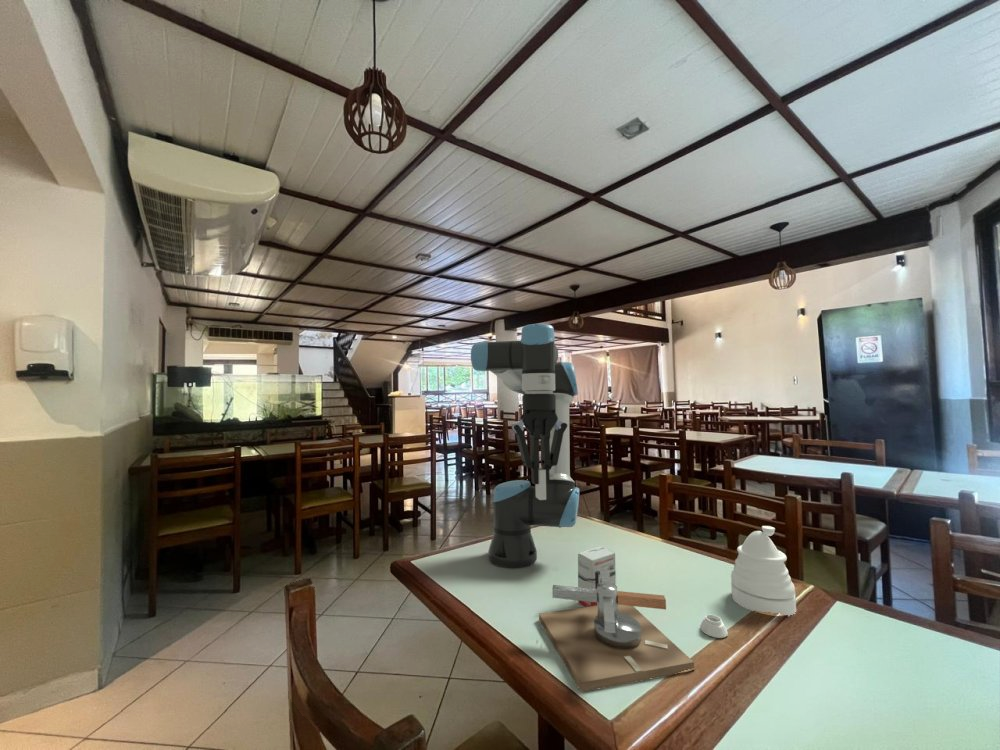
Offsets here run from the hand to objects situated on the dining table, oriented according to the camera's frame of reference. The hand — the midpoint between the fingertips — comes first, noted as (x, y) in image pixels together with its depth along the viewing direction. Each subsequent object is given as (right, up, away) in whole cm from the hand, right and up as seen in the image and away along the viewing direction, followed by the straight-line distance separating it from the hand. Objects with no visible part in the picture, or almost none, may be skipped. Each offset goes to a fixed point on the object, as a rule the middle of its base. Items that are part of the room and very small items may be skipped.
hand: (540, 498), depth 87 cm
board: (+13, -27, -9) cm, 31 cm away
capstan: (+13, -25, -8) cm, 29 cm away
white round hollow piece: (+36, -27, -5) cm, 45 cm away
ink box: (+15, -28, +7) cm, 32 cm away
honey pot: (+54, -27, +7) cm, 61 cm away
